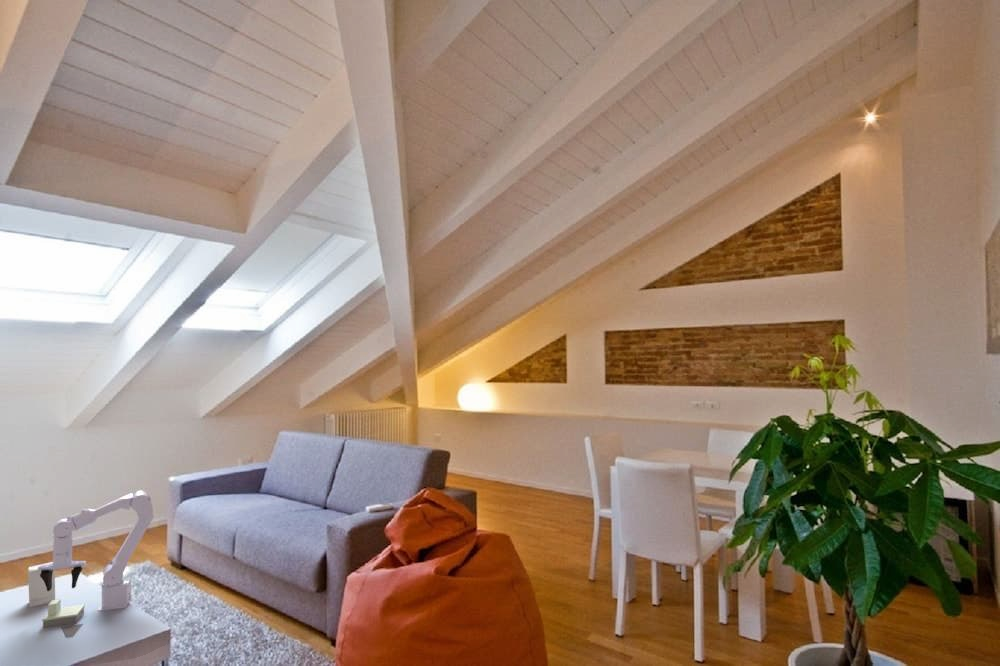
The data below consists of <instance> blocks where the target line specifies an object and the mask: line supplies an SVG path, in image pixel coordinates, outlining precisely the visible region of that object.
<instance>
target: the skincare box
mask: <svg viewBox="0 0 1000 666" xmlns="http://www.w3.org/2000/svg"><path fill="white" fill-rule="evenodd" d="M52 563H53V561H50V562H46V563H42V564H37V565H33V566H29V567H28V569H27V570H28V571H27V574H28V575H27V579H28V601H29V602H28V603H29V605H28V606H29V608H32V607H39V606H42V605H46V604H49V603H50V602H51V601H52V600H56V579H55V578H56V576H55V575H56V572H55V571H56V570H53V574H52V589H51V590H50V591H47V588H46V585H45V583H44V581H43V579H42V578H41V577H40V574H41V572H38V567H39V566H40V565H47V564H52Z"/></svg>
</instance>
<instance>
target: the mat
mask: <svg viewBox="0 0 1000 666" xmlns="http://www.w3.org/2000/svg"><path fill="white" fill-rule="evenodd" d="M83 625H84V623H79V624H77V623H76V624H70V625H63V626H61V627H60V628H61V631H62V633H63V635H64V637H65V639H69V638H73V637H75V635H76V634H77V633H78V631H79V630H80V629H81V627H83Z"/></svg>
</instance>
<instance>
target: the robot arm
mask: <svg viewBox="0 0 1000 666" xmlns="http://www.w3.org/2000/svg"><path fill="white" fill-rule="evenodd" d="M120 509H123V510H131V509H133V510H134V512H135V513H136V514H137V516H138V519H136V522H135V523H134V524H133V526H132V528H131V530H130V532H129V533H128V535H127V536H126V538H125V539H124V542H123V543H122V544H121V546H120V548H119V550H118V552H117V554H116V555H115V556H114V557H113V558H112V560H111V561H110V562H109V563H108V564H106V565H105V566H104V568H103V570H102V571H103V578H102V581H103V582H102V583H101V605H100V607H99V608H98V609H97V611H98V612H102V611H107V610H115V609H116V610H117V609H122V608H123V609H125V608H127V607H128V605H129V604H130V602H131V601H132V582H131V580H125V578H124V571H125V569H126V567H127V565H128V562H129V560H130V558H131V557H132V555H133V554H134V552H135V550H136V548H137V546H138V545H139V543H140V542H141V539H142V538H143V537H144V534H145V533H146V531H147V529H148V528H149V526H150V524H151V522H152V521H153V519H154V513H153V512H154V511H153V509H154V508H153V503H152V499H151V497H150V496H149V493H148V492H147V491H146V490H141V489H140V490H137V491H134V492H132V493H128V494H126V495H124V496H121V497H119V498H117V499H115V500H112V501H110V502H109V503H106V504H103V505H102V506H99V507H98V508H96V509H93V508H87V509H86V508H83V509H81V510H80V512H78V513H76V514H74V515H67V516H66V518H61V519H59V520H58V521H57V522H55V524H54V525H53V526H54V527H53V530H52V531H53V532H52V533H53V535H54V536H53V543H52V545H53V546H52V562H53V563H52V564H47V565H41V564H39V565H40V566H39V567H38V572H41V574H40V577H41V578H42V579H43V581H44V583H45V585H46V588H47V591H50V590H51V589H52V574H53V570H55V571H57V570H58V571H59V570H68V569H72V570H70V572H71V589H75V588H76V587H77V583H78V579H79V577H80V574H81V572H82V570H83V569H84V568H85V567H86V566H87V560H73V536H72V535H73V534H72V533H73V532H74V531H78V530H80V529H83V528H84V527H88V526H89V525H91V524H94V523H95V522H96V521H97V520H98V518H100V517H103V516H105V515H107V514H108V515H109V514H110V513H112V512H115V511H118V510H120ZM128 603H129V604H128Z"/></svg>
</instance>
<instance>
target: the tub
mask: <svg viewBox="0 0 1000 666" xmlns="http://www.w3.org/2000/svg"><path fill="white" fill-rule="evenodd" d="M84 614H85V607H84V608H83V609H82V610H81V611H80V613H79V614H78V615H77V616H73V617H66V618H59V619H52V620H45V621H42V628H44V629H45V628H51V627H58V626H68V625H76V624H77V623H78V622H79V621H80V620H81V618H82V617H83V616H84Z"/></svg>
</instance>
